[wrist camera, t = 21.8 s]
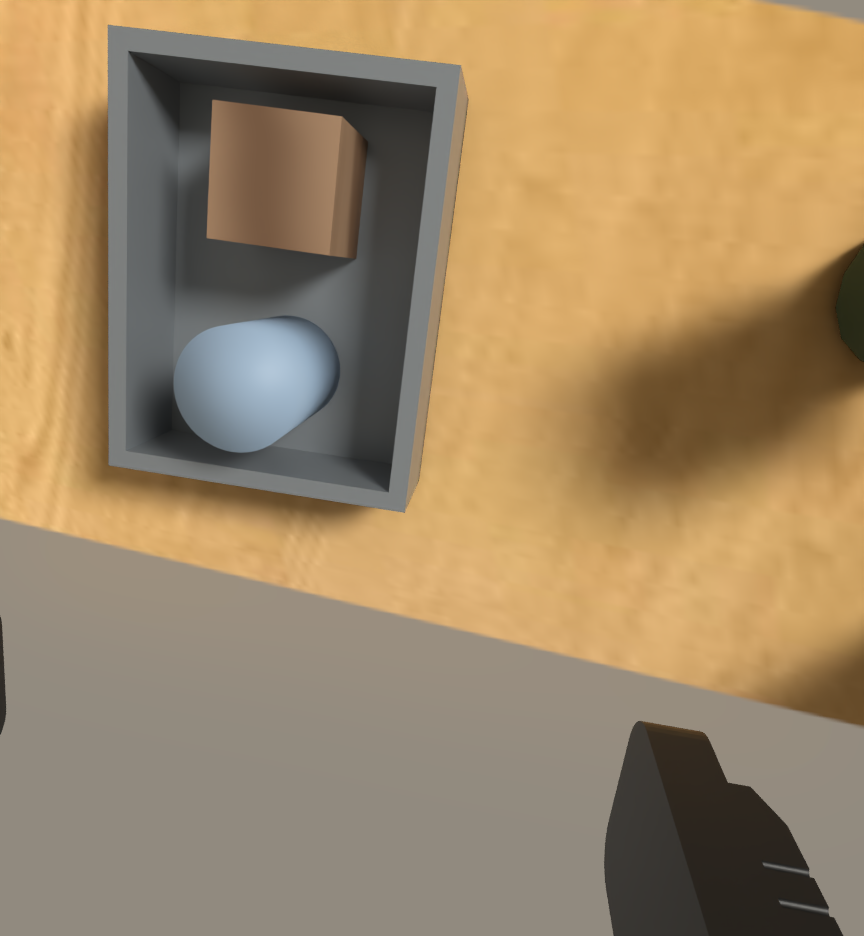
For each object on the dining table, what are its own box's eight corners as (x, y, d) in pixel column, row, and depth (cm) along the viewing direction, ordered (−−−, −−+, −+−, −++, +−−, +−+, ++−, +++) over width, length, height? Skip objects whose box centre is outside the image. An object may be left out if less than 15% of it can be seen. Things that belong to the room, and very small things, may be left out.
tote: (468, 99, 30) (460, 65, 25) (418, 480, 35) (404, 512, 30) (169, 64, 31) (108, 24, 26) (162, 440, 36) (108, 465, 31)
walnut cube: (367, 141, 30) (341, 116, 26) (356, 258, 32) (329, 255, 27) (258, 127, 31) (212, 99, 26) (251, 244, 32) (206, 237, 27)
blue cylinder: (343, 321, 33) (300, 332, 26) (336, 424, 34) (294, 460, 27) (241, 309, 33) (173, 318, 26) (238, 411, 34) (173, 444, 28)
